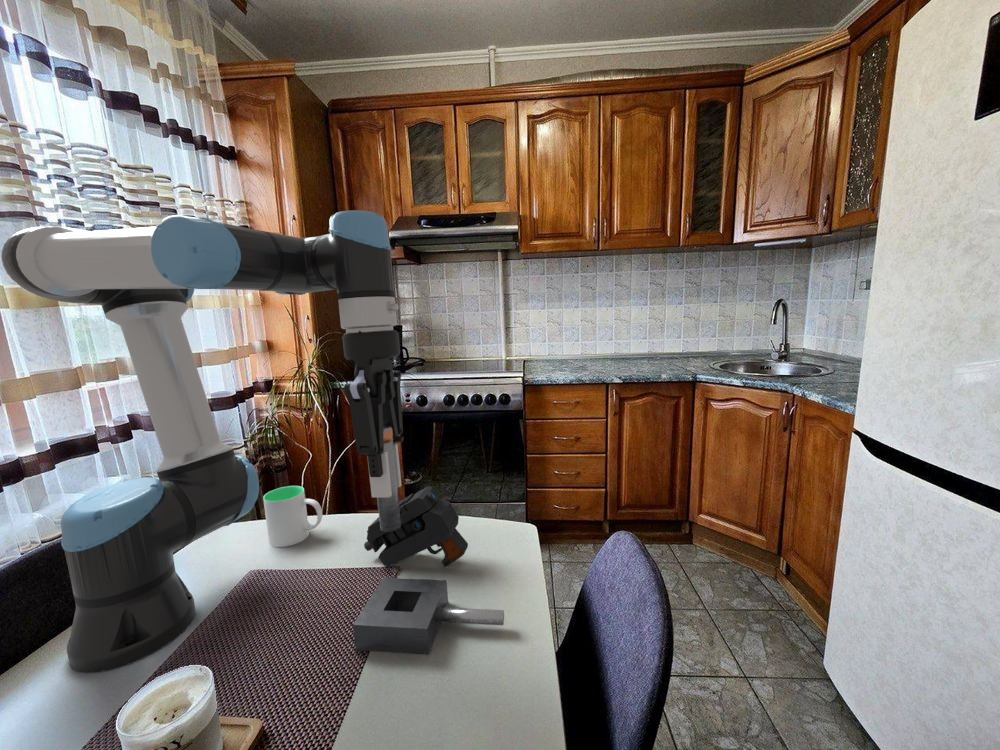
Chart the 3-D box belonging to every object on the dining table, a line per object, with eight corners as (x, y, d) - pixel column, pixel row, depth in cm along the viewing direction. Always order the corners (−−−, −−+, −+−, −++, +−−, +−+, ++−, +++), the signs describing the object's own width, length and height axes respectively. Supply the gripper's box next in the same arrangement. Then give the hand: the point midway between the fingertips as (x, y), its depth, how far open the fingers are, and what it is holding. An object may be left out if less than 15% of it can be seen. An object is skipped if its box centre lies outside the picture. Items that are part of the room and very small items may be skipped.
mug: (332, 527, 98) (327, 484, 97) (316, 546, 90) (311, 499, 89) (281, 529, 99) (276, 486, 97) (261, 547, 91) (255, 501, 89)
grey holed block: (355, 649, 61) (352, 624, 61) (385, 599, 72) (383, 577, 71) (499, 659, 58) (497, 632, 58) (507, 605, 69) (506, 582, 69)
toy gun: (468, 560, 77) (425, 491, 77) (388, 599, 82) (347, 534, 82) (477, 542, 83) (436, 478, 83) (402, 580, 88) (363, 519, 88)
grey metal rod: (376, 532, 61) (364, 431, 59) (385, 521, 64) (374, 425, 62) (396, 532, 61) (386, 431, 59) (405, 521, 64) (395, 425, 62)
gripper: (369, 330, 50) (389, 517, 54) (415, 326, 66) (428, 471, 69) (311, 334, 52) (334, 516, 55) (370, 329, 67) (385, 471, 70)
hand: (387, 490), depth 62 cm, fingers closed on grey metal rod, 3 cm apart
